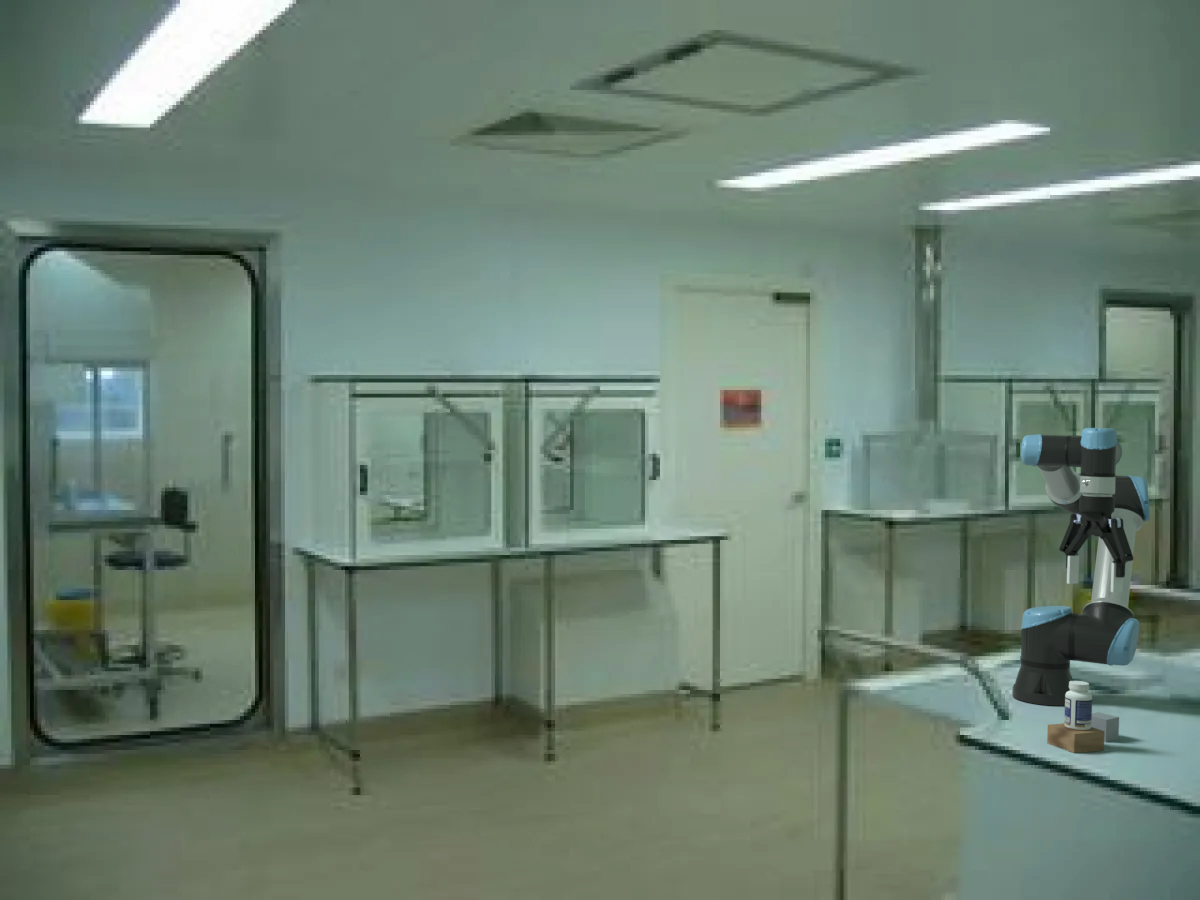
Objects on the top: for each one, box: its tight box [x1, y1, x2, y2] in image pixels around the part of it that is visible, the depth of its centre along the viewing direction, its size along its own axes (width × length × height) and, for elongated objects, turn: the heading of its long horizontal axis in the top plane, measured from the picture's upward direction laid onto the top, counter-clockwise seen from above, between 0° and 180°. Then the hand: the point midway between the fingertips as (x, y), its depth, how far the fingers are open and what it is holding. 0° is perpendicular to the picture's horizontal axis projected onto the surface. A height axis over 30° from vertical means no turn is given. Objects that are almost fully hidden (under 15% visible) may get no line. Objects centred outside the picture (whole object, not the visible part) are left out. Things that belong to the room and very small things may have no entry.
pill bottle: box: [1064, 680, 1093, 730], centre depth 257 cm, size 5×5×10 cm
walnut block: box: [1046, 722, 1105, 754], centre depth 257 cm, size 8×8×4 cm
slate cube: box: [1091, 711, 1120, 743], centre depth 265 cm, size 5×5×5 cm
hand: (1094, 587), depth 276 cm, fingers open, 13 cm apart
